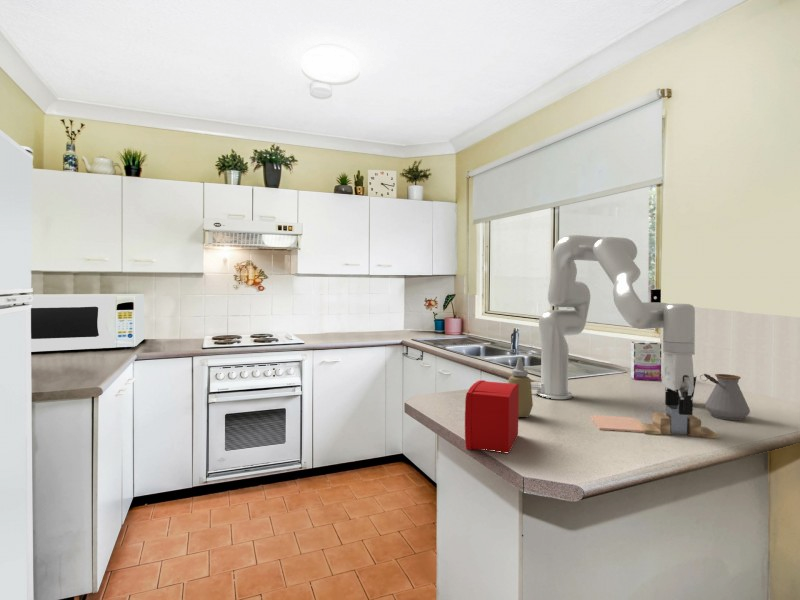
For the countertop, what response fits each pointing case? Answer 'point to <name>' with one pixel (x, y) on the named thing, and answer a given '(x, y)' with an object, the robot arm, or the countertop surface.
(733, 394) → the coffee pot
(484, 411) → the red rounded box
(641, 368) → the candy bar box
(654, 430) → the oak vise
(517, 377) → the squeeze bottle
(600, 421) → the terracotta tile
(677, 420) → the metal block
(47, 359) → the countertop surface
